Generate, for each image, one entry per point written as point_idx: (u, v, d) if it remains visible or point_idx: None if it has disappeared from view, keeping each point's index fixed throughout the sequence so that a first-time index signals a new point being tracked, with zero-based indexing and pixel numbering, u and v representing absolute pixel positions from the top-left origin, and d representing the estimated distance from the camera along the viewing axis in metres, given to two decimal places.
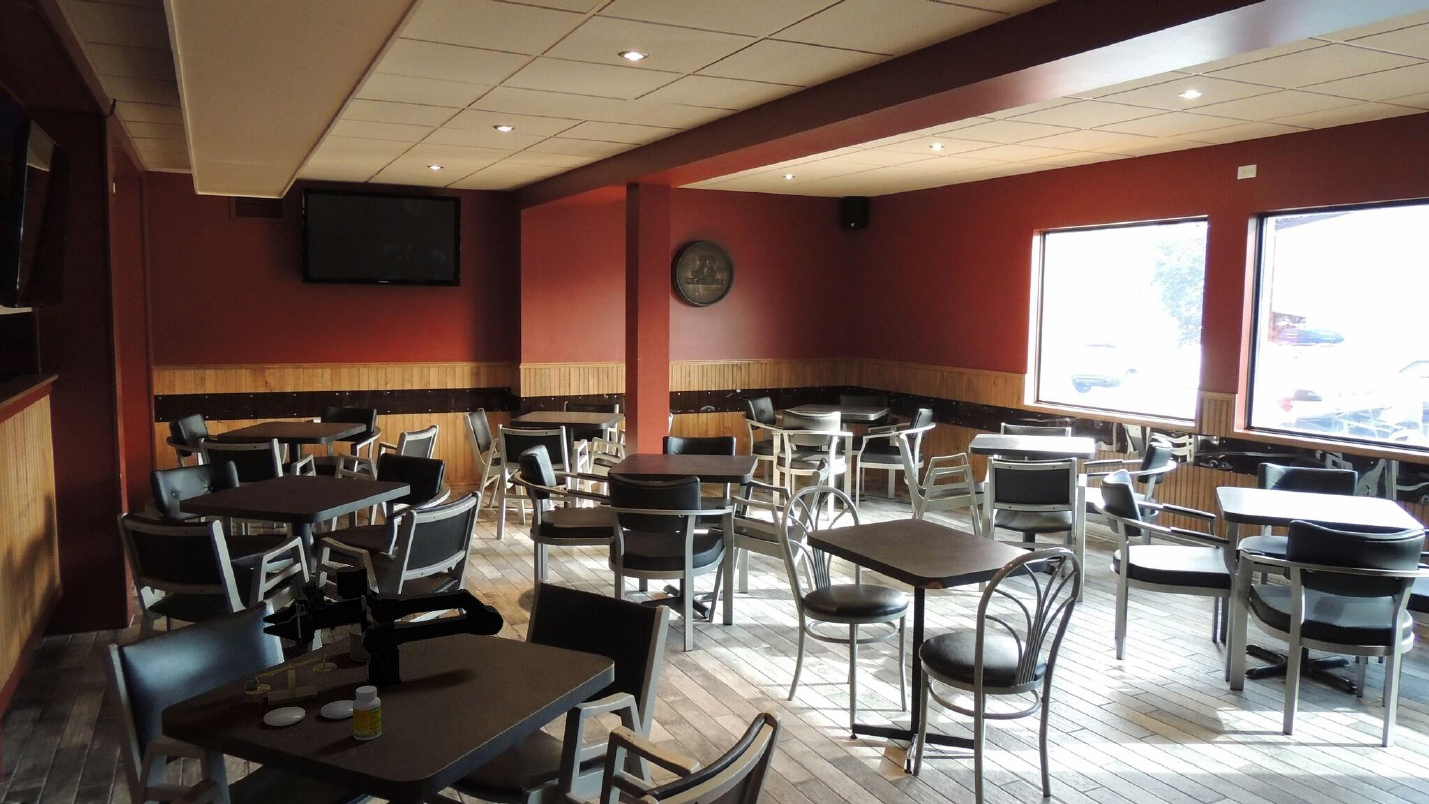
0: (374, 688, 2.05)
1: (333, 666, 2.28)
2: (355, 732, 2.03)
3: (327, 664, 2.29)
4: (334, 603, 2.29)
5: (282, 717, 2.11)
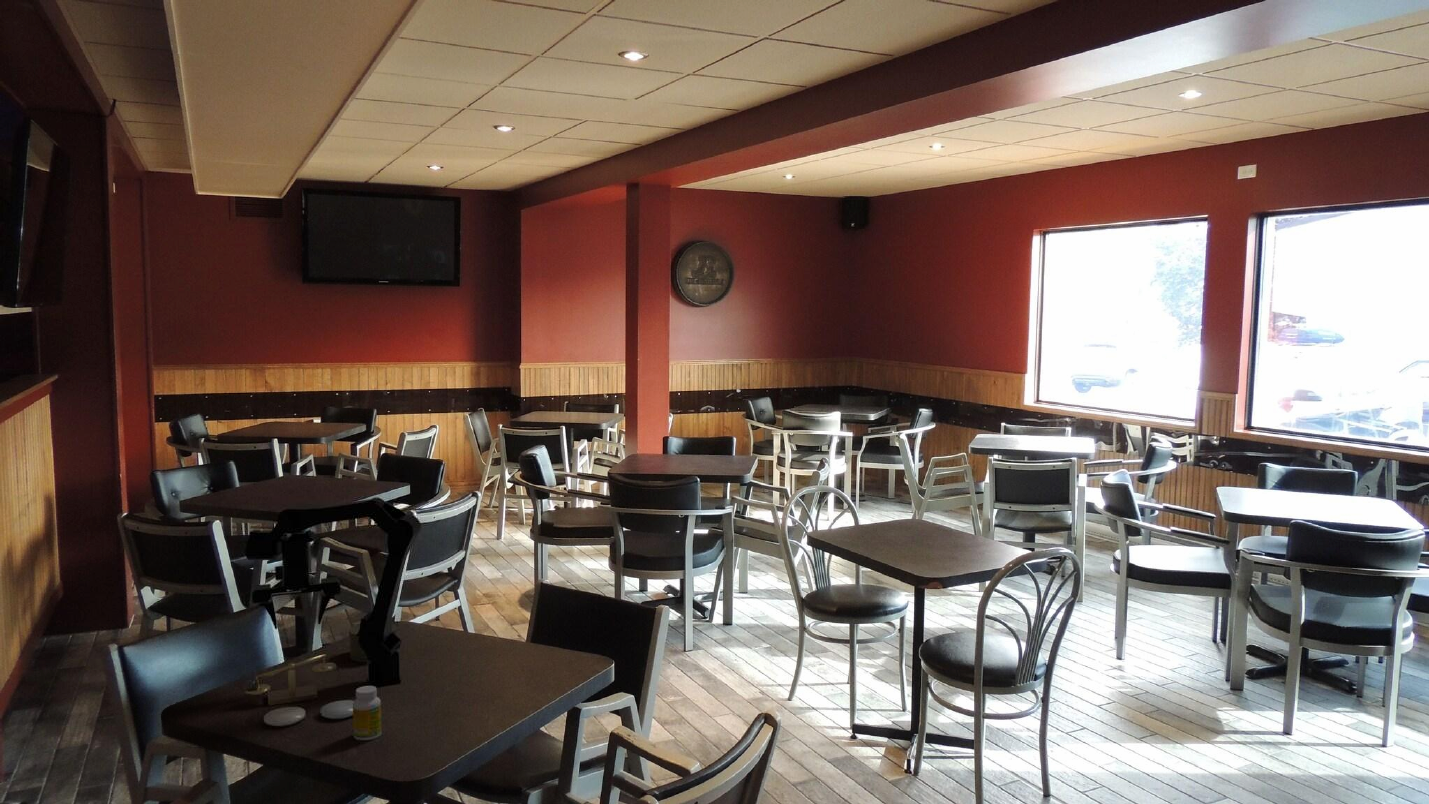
0: (374, 688, 2.05)
1: (333, 666, 2.28)
2: (355, 732, 2.03)
3: (327, 664, 2.29)
4: None
5: (282, 717, 2.11)
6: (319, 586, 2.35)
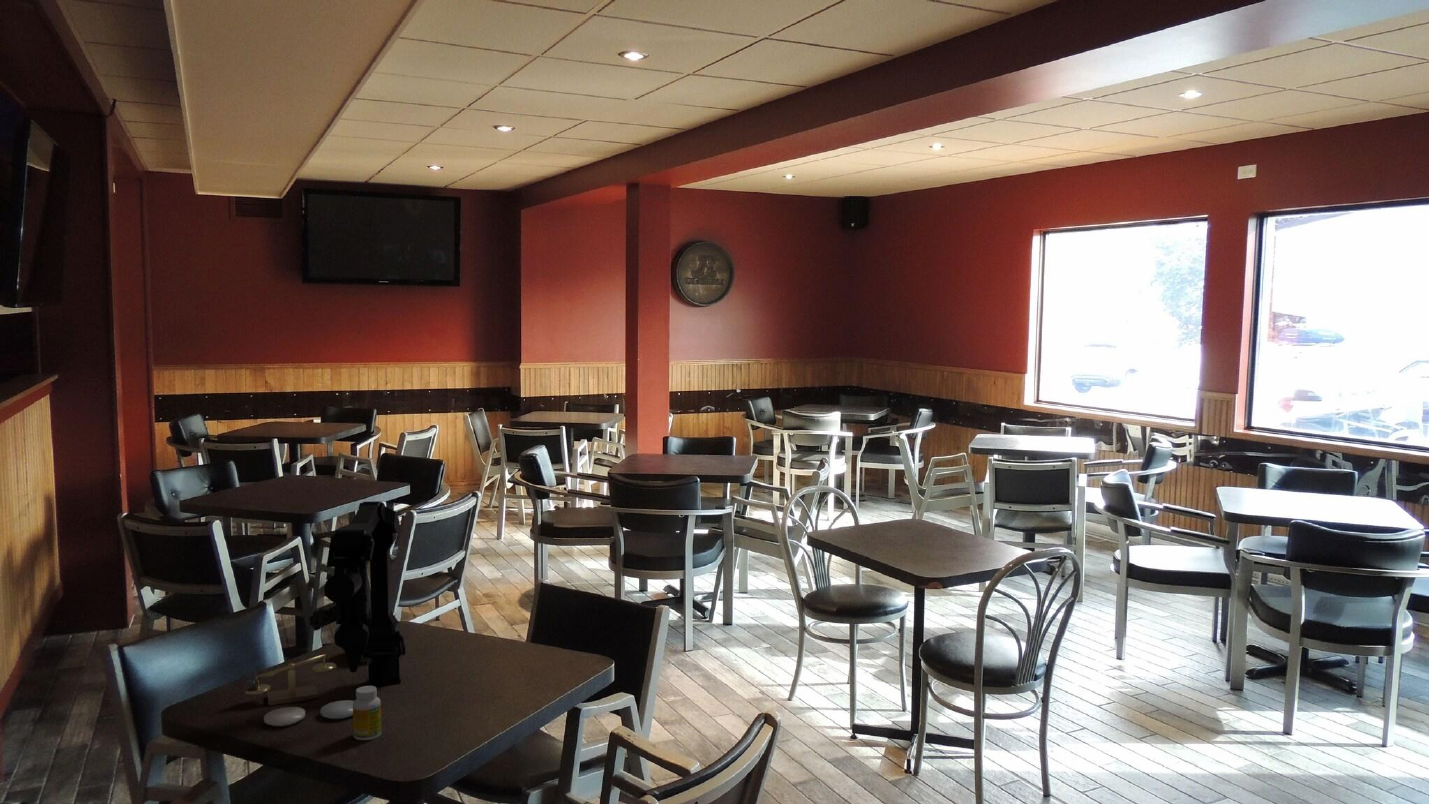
0: (374, 688, 2.05)
1: (333, 666, 2.28)
2: (355, 732, 2.03)
3: (327, 664, 2.29)
4: None
5: (282, 717, 2.11)
6: None
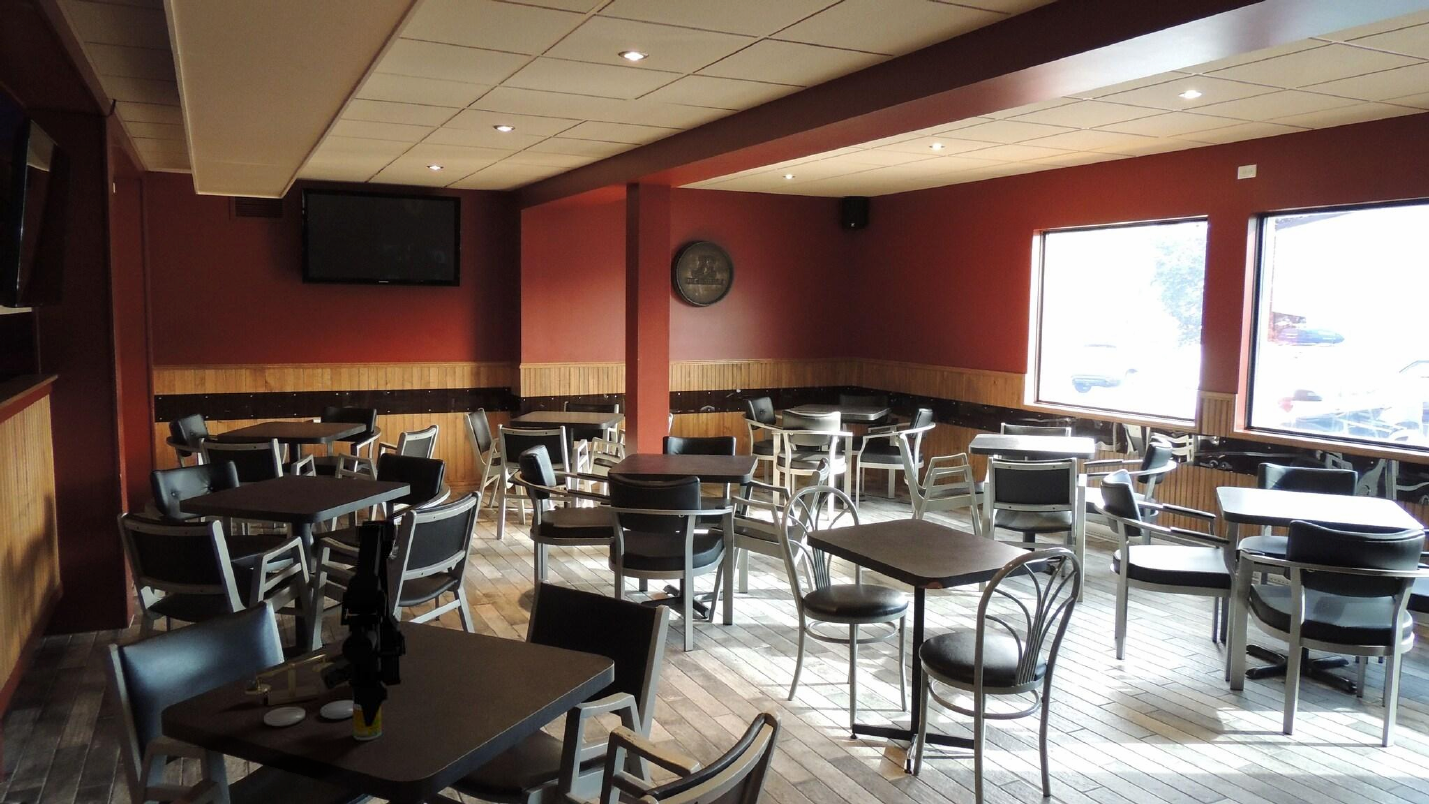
0: None
1: None
2: (355, 732, 2.03)
3: (327, 664, 2.29)
4: None
5: (282, 717, 2.11)
6: None
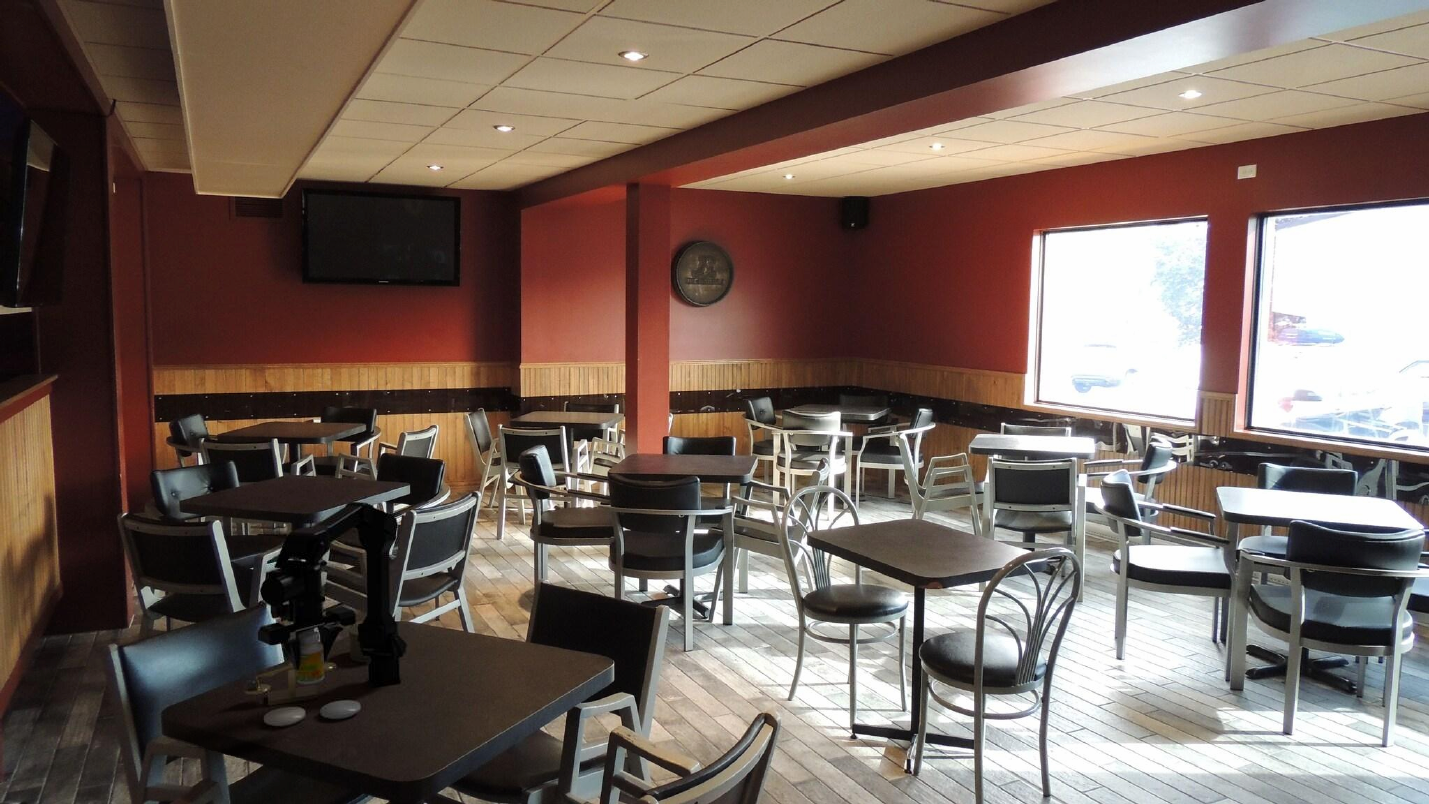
0: (311, 636, 2.07)
1: (333, 666, 2.28)
2: None
3: (327, 664, 2.29)
4: None
5: (282, 717, 2.11)
6: (331, 618, 2.12)
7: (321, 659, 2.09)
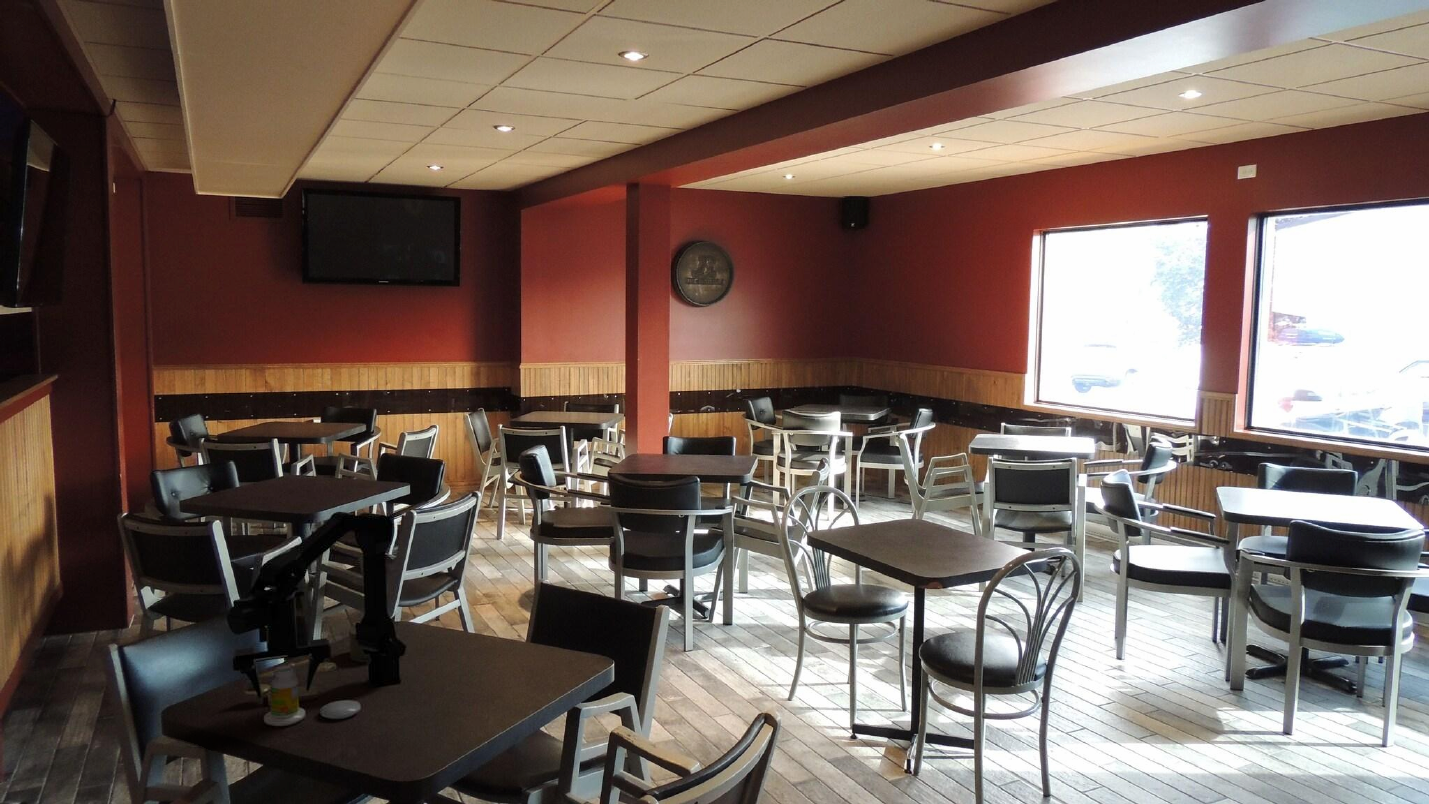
0: (283, 671, 2.11)
1: (333, 666, 2.28)
2: None
3: (327, 664, 2.29)
4: None
5: None
6: (307, 649, 2.13)
7: (291, 695, 2.11)
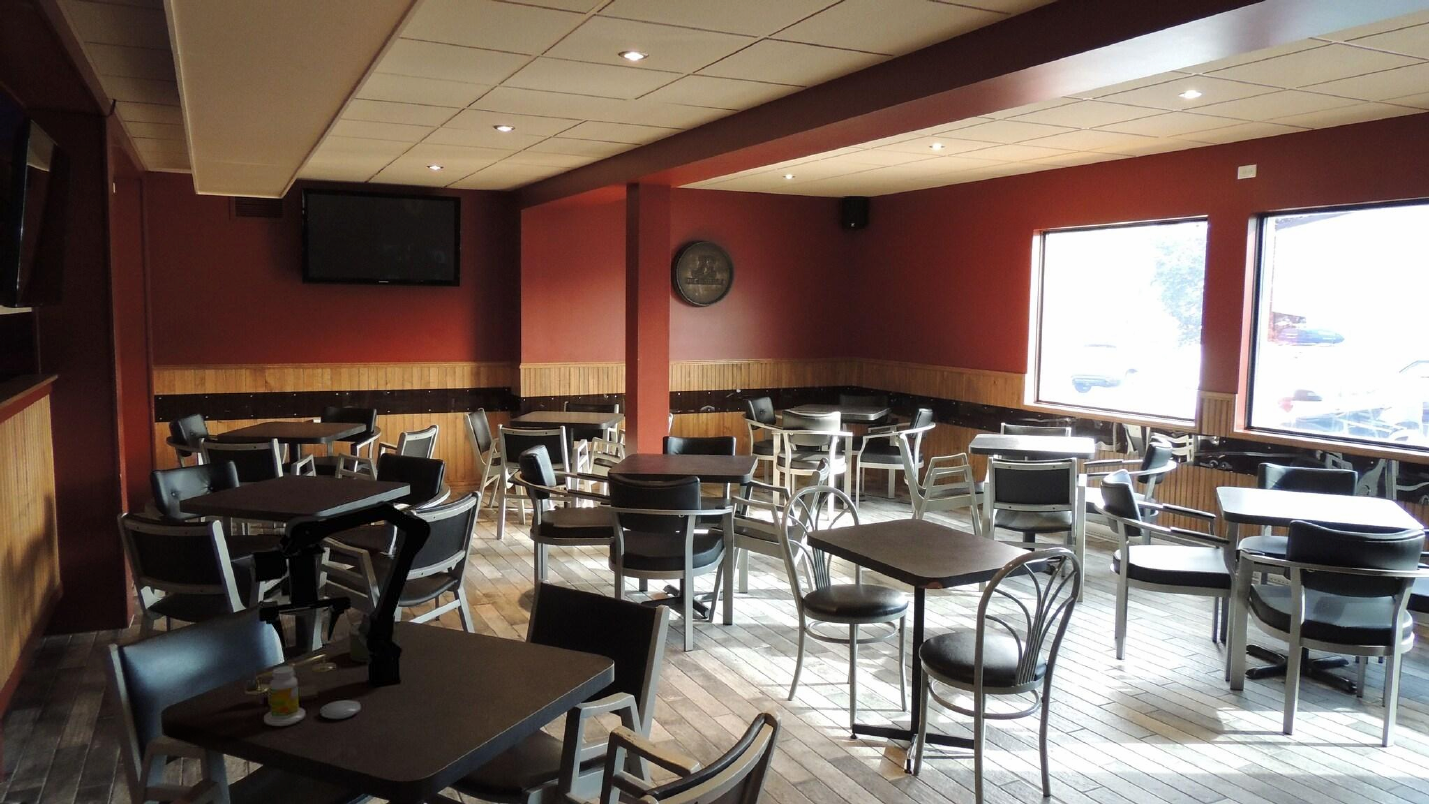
0: (282, 672, 2.10)
1: (333, 666, 2.28)
2: None
3: (327, 664, 2.29)
4: None
5: None
6: (328, 602, 2.26)
7: (291, 696, 2.11)
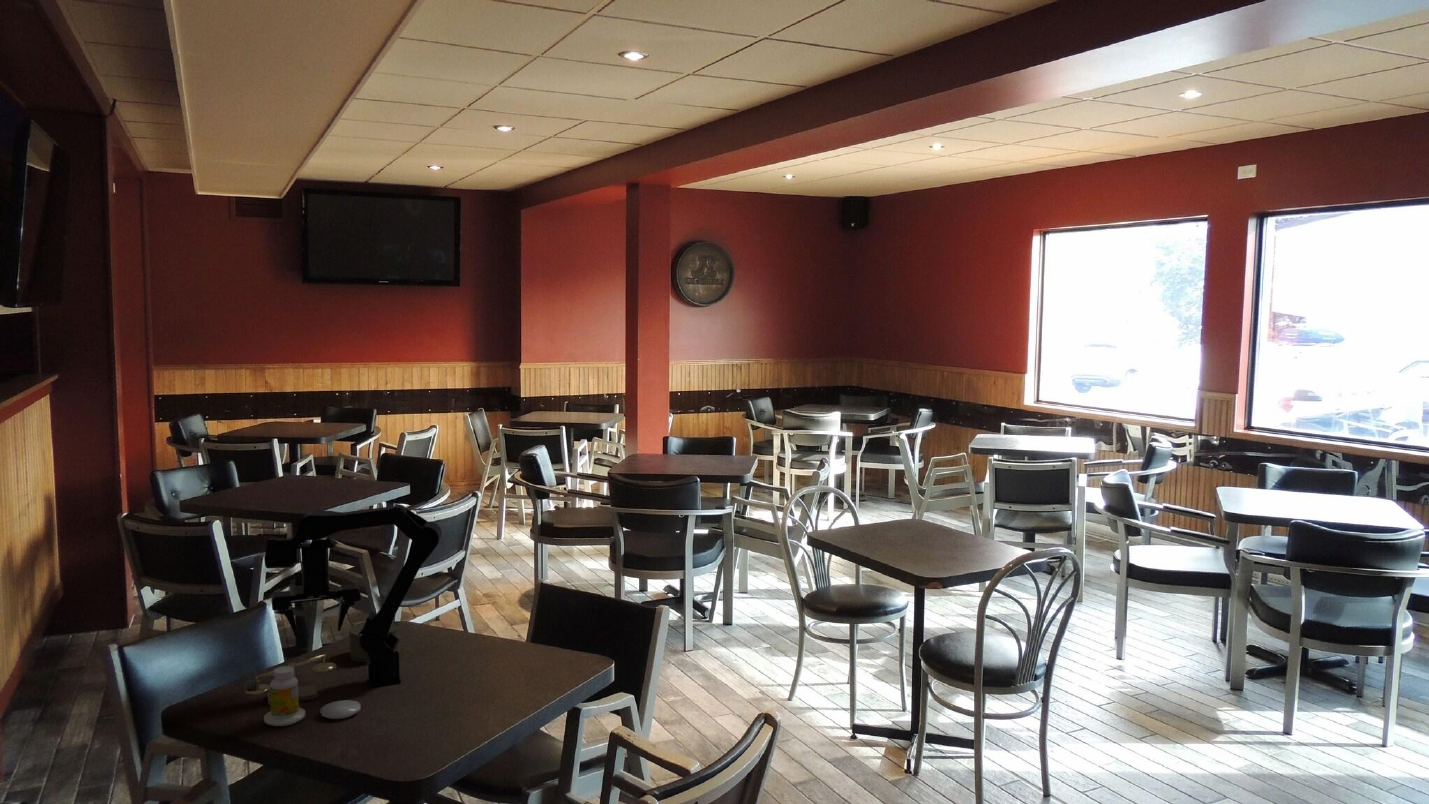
0: (283, 672, 2.10)
1: (333, 666, 2.28)
2: None
3: (327, 664, 2.29)
4: None
5: None
6: (339, 593, 2.33)
7: (291, 696, 2.11)
